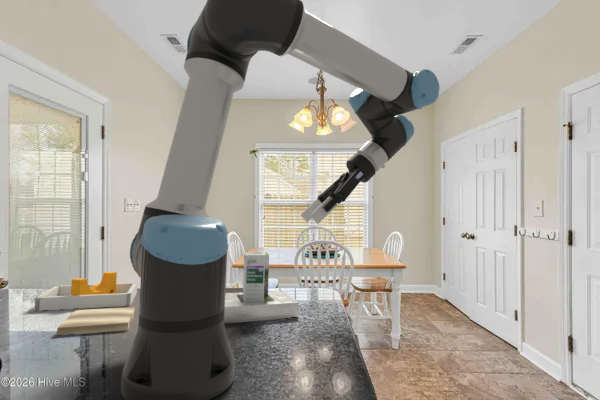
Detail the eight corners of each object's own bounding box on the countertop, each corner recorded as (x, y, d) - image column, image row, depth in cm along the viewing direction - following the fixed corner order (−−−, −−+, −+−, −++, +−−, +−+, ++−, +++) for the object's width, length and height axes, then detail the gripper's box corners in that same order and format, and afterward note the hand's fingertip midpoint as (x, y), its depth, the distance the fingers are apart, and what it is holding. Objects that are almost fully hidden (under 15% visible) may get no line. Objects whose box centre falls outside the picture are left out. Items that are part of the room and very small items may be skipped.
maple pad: (127, 330, 68) (128, 322, 68) (56, 335, 64) (57, 327, 64) (135, 313, 79) (135, 306, 79) (75, 317, 75) (76, 310, 75)
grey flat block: (298, 317, 79) (298, 302, 79) (219, 323, 73) (220, 307, 73) (282, 303, 91) (282, 290, 91) (214, 307, 85) (214, 293, 85)
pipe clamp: (102, 294, 94) (103, 271, 95) (115, 295, 93) (116, 272, 94) (64, 305, 83) (65, 279, 83) (79, 307, 82) (80, 280, 82)
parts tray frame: (130, 305, 85) (130, 293, 85) (34, 311, 78) (35, 298, 78) (136, 293, 98) (137, 282, 98) (55, 296, 91) (56, 285, 91)
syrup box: (243, 316, 79) (245, 254, 79) (242, 309, 84) (244, 251, 85) (267, 315, 80) (269, 254, 80) (264, 308, 86) (266, 251, 86)
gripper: (396, 167, 76) (331, 232, 73) (359, 178, 101) (309, 227, 98) (374, 142, 75) (307, 207, 72) (342, 159, 100) (291, 208, 97)
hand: (308, 219), depth 85 cm, fingers open, 13 cm apart
